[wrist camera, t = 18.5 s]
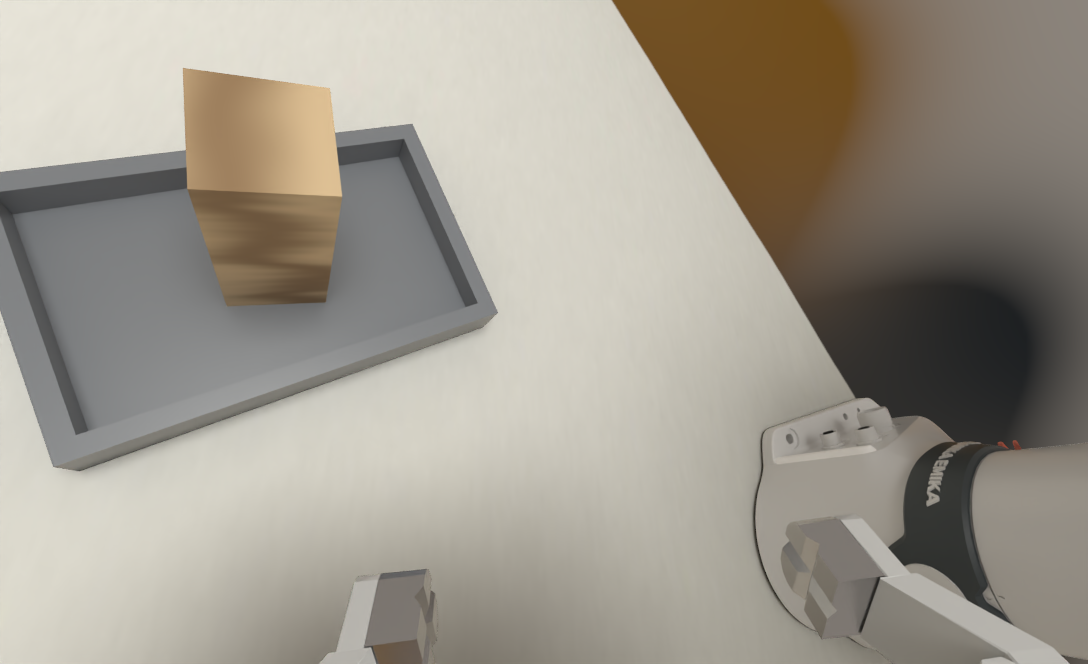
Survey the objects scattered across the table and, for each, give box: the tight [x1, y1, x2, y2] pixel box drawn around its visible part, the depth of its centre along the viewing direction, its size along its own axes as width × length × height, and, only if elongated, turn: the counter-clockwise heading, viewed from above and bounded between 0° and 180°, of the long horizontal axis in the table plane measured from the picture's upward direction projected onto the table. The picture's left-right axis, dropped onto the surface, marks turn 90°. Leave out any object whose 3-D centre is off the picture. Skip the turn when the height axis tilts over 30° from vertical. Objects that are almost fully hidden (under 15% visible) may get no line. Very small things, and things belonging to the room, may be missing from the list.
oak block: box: [183, 68, 342, 306], centre depth 24 cm, size 5×5×12 cm
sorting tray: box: [0, 124, 498, 471], centre depth 29 cm, size 22×14×3 cm, turn 118°
